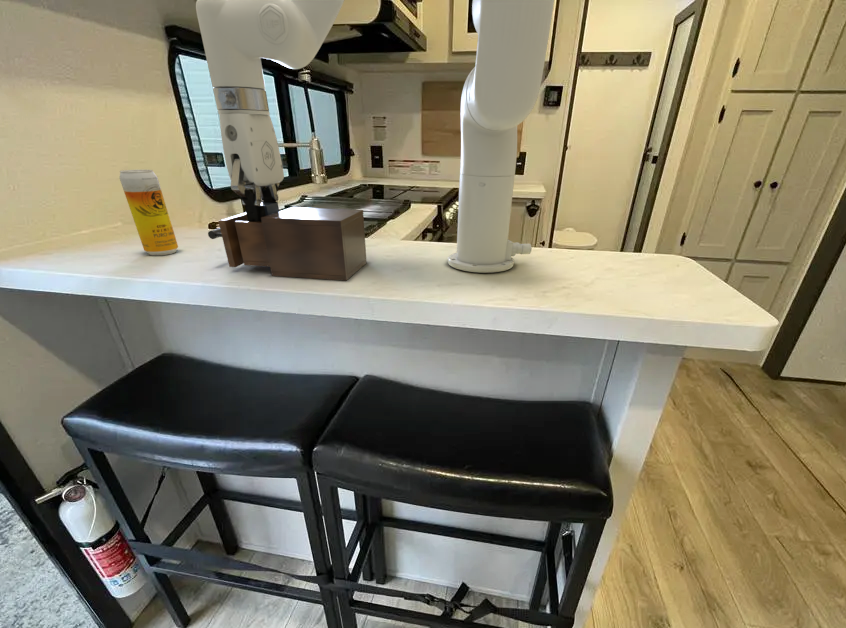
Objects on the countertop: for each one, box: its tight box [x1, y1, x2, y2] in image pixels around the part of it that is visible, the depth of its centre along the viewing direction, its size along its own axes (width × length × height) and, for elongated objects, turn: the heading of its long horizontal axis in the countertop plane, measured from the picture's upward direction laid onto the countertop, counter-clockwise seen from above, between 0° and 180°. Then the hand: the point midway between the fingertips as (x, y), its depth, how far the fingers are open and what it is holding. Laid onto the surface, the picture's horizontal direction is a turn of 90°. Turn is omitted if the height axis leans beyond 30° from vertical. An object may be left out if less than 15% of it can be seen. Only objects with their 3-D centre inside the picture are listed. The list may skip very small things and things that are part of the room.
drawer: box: [207, 212, 270, 268], centre depth 75 cm, size 17×10×8 cm, turn 80°
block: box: [261, 202, 280, 216], centre depth 73 cm, size 4×4×4 cm
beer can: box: [119, 169, 179, 256], centre depth 81 cm, size 6×6×15 cm
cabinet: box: [261, 206, 368, 282], centre depth 73 cm, size 14×12×10 cm
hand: (266, 226), depth 74 cm, fingers closed on block, 4 cm apart
